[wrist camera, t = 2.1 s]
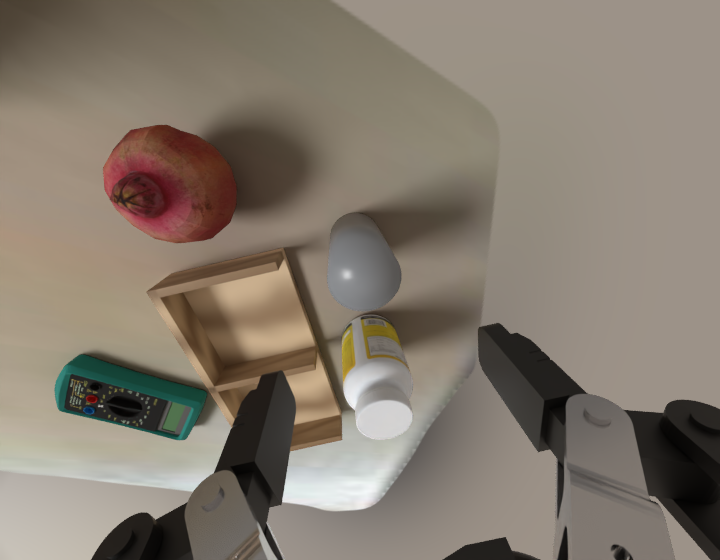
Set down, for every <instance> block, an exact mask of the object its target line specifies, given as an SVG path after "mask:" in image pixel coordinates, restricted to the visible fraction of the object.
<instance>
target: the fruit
mask: <svg viewBox="0 0 720 560" xmlns="http://www.w3.org/2000/svg"><path fill="white" fill-rule="evenodd" d="M103 174H104V186H105V191H106V193H107V195H108V196H109V198H110V200H111V202H112V203H113V205H114V207H115V208H116V210H117V211H118V212H119V213H120V214H121V215H122V216H124V217H125V218H126V219H127V220H128V221H129V222H130V223H131V224H132V225H133V226H135V227H136V228H138V229H140V230H141V231H143V232H145V233H146V234H148V235H150V236H151V237H153V238H155V239H158V240H163V241H168V242H173V243H186V242H195V241H203V240H207V239H211V238H213V237H214V236H215V235H216V234H217V233H219V232H220V231H221V230H222V229H223V228H224V227H225V226H227V225H228V224H229V223H230V221H231V219H232V216H233V213H234V210H235V207H236V192H237V186H236V183H235V180H234V176H233V173H232V170H231V166H230V165H229V164H228V163H227V161H226V160H225V159H224V158H223V157H222V155H221V154H220V153H219V152H218V151H217V149H216V148H215V147H214V146H212V145H211V144H209V143H208V142H206V141H204V140H203V139H201V138H200V137H198V136H197V135H193V134H190V133H187V132H183V131H180V130H178V129H175V128H173V127H171V126H168V125H155V126H150V127H144V128H139V129H134V130H130V131H129V132H128V133H127V134H126V135H125V136H124V138H123V139H122V140H121V141H120V142H119V143H118V145H117V146H116V147H115V148H114V149H113V151H112V153H111V155H110V156H109V158H108V160H107V162H106V164H105V165H104V167H103Z"/></svg>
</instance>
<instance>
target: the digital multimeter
mask: <svg viewBox="0 0 720 560" xmlns="http://www.w3.org/2000/svg"><path fill="white" fill-rule="evenodd" d="M206 397H207V393H206V391H203V390H200V389H197V388H193V387H189V386H185V385H182V384H178V383H174V382H170V381H167V380H163V379H160V378H156V377H153V376H149V375H146V374H142V373H139V372H136V371H133V370H130V369H127V368H123V367H120V366H117V365H114V364H110V363H108V362H105V361H102V360H99V359H96V358H93V357H90V356H87V355H82V354H81V355H78V356H77V357H76V358H74V359H73V360H72V361H70V362H69V363H68V364H67V365H65V367H64V368H63V370H62V371H61V373H60V374H59V376H58V378H57V380H56V384H55V398H56V403H57V407H58V409H59V410H60V411H62V412H66V413H70V414H74V415H79V416H83V417H88V418H92V419H96V420H100V421H105V422H109V423H113V424H118V425H122V426H125V427H129V428H133V429H137V430H141V431H145V432H149V433H153V434H156V435H160V436H164V437H167V438H171V439H175V440H185V439H186V438H187V437H188V435H189V434H190V432H191V430H192V428H193V426H194V424H195V423H196V421H197V419H198V417H199V415H200V413H201V411H202V409H203V406H204V403H205V400H206Z"/></svg>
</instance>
